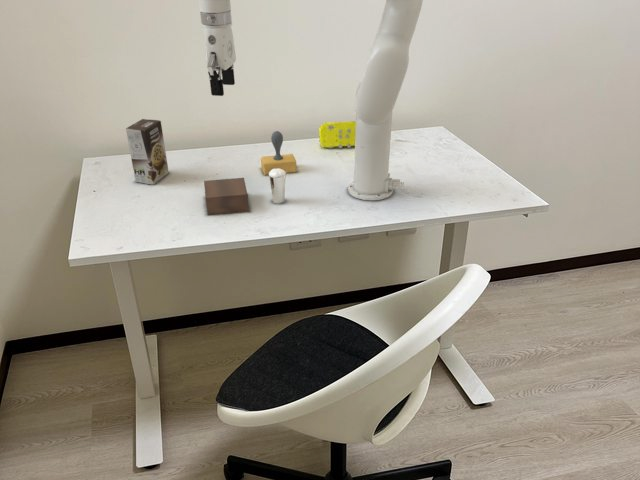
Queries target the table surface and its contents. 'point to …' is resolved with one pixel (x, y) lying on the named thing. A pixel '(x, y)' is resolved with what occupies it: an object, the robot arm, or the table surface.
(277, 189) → the milkshake
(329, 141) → the yellow toy chassis
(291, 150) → the table surface
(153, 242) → the table surface
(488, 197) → the table surface
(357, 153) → the robot arm
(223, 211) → the brown square block
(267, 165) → the rubber stamp
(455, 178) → the table surface
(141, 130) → the coffee box
